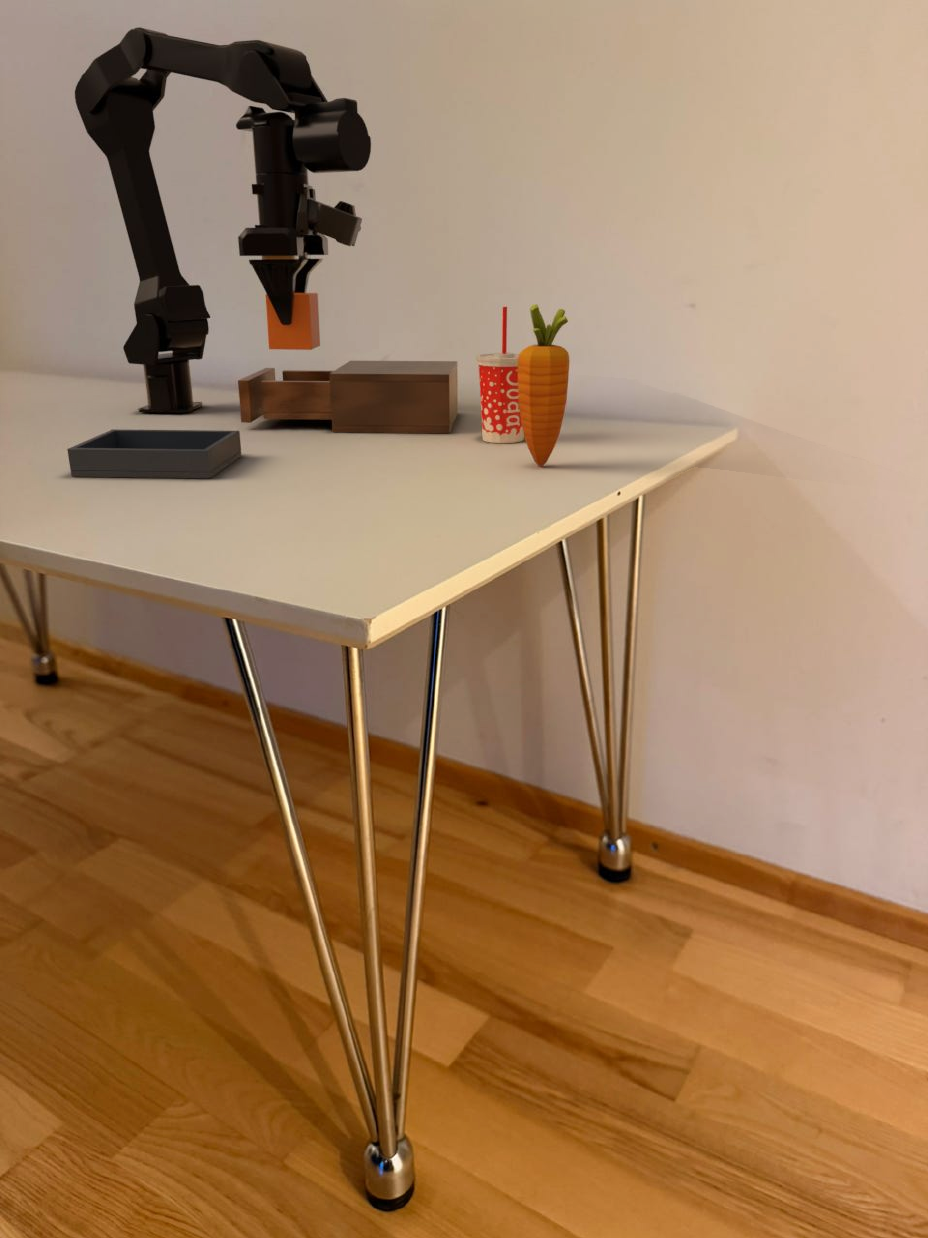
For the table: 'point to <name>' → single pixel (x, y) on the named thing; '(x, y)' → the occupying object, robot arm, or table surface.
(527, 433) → the carrot
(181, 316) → the robot arm
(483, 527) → the table surface
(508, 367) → the beverage cup
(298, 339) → the cube
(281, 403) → the drawer
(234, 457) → the tray
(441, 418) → the cabinet
